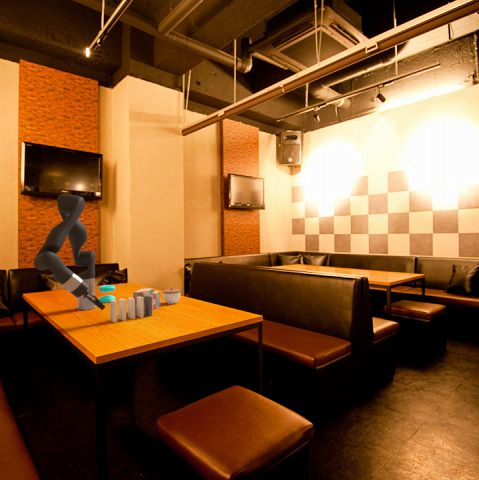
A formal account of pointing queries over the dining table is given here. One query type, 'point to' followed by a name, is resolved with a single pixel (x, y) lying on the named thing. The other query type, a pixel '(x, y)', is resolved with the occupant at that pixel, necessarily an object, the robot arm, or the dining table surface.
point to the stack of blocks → (149, 292)
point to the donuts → (108, 297)
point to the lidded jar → (171, 295)
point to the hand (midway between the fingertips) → (103, 308)
